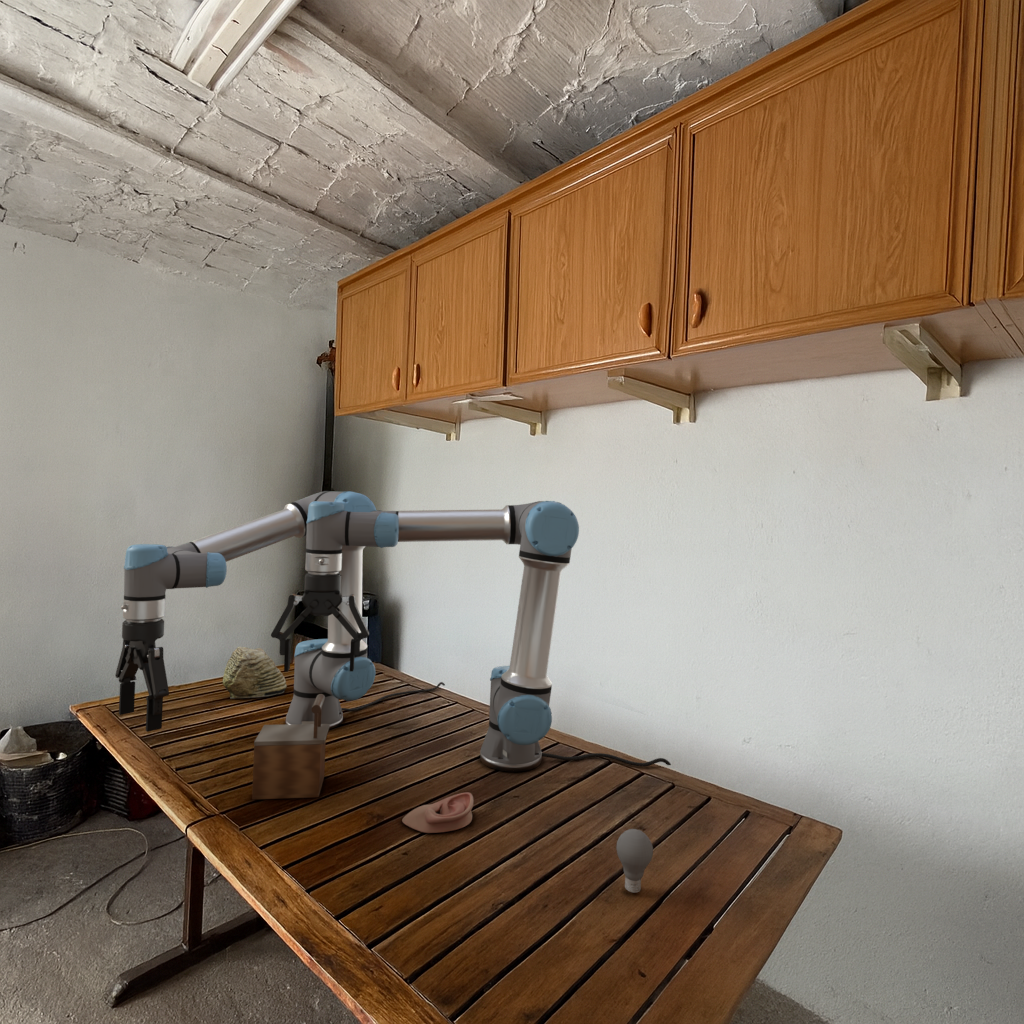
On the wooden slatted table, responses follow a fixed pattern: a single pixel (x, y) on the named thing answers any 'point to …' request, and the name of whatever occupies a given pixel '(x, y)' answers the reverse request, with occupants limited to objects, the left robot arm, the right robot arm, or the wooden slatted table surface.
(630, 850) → the light bulb
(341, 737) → the wooden slatted table surface
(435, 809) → the anatomical model
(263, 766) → the chest
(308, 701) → the left robot arm
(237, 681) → the fossil
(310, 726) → the lid
